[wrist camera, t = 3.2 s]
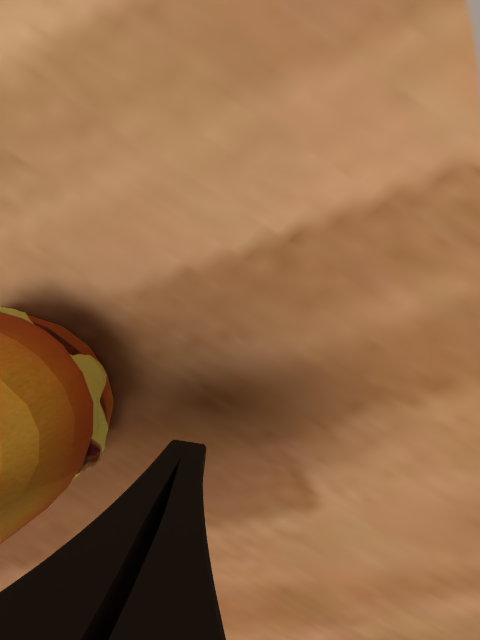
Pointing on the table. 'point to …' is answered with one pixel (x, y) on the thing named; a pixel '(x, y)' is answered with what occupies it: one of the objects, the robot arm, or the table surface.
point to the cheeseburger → (46, 414)
